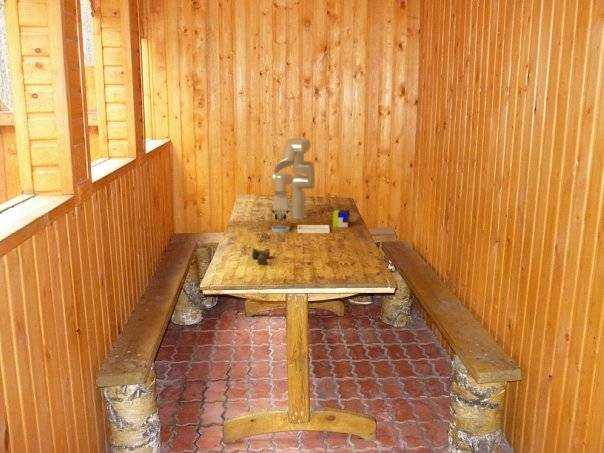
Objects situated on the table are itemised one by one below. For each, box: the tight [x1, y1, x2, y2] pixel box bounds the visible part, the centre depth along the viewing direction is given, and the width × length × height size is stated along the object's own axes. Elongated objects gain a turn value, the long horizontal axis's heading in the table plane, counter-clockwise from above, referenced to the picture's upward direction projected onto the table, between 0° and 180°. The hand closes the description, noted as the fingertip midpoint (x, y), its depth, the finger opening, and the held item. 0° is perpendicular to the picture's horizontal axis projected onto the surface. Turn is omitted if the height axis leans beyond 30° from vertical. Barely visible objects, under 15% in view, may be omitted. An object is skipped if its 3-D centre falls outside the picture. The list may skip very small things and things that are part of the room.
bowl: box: [271, 225, 291, 234], centre depth 398 cm, size 12×12×2 cm
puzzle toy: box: [332, 209, 350, 228], centre depth 414 cm, size 10×10×10 cm
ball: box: [277, 213, 284, 222], centre depth 395 cm, size 5×5×5 cm
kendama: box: [251, 248, 271, 266], centre depth 328 cm, size 6×10×20 cm
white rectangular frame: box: [297, 224, 330, 234], centre depth 398 cm, size 13×21×2 cm, turn 90°
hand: (280, 219), depth 396 cm, fingers closed on ball, 4 cm apart
